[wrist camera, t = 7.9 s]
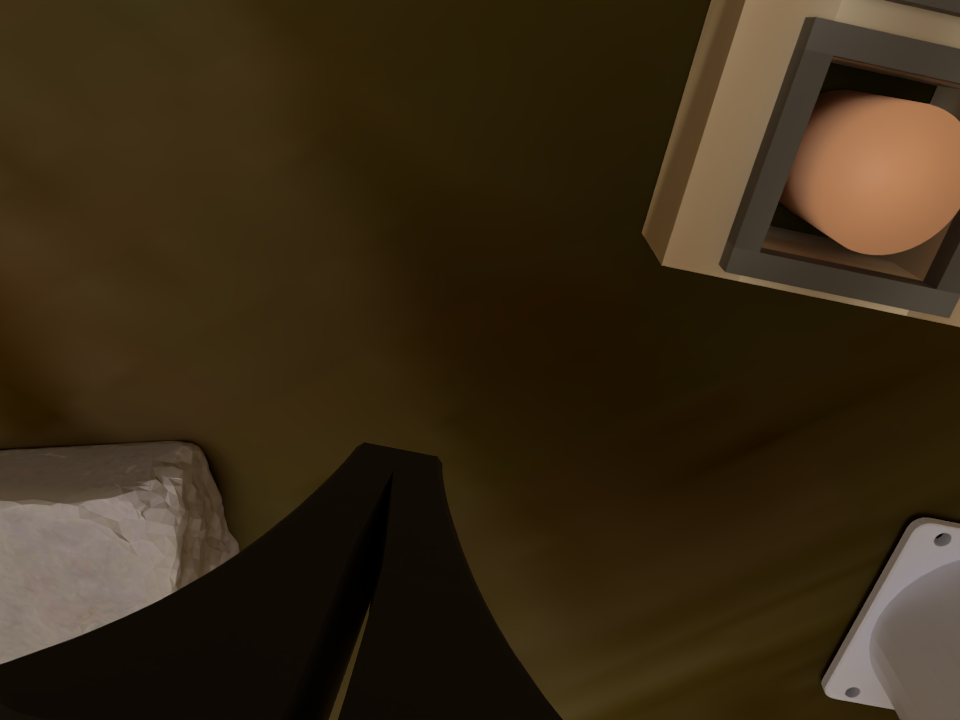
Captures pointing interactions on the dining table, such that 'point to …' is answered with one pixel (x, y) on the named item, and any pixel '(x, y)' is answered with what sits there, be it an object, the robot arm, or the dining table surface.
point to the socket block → (776, 139)
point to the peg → (876, 171)
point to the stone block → (101, 536)
